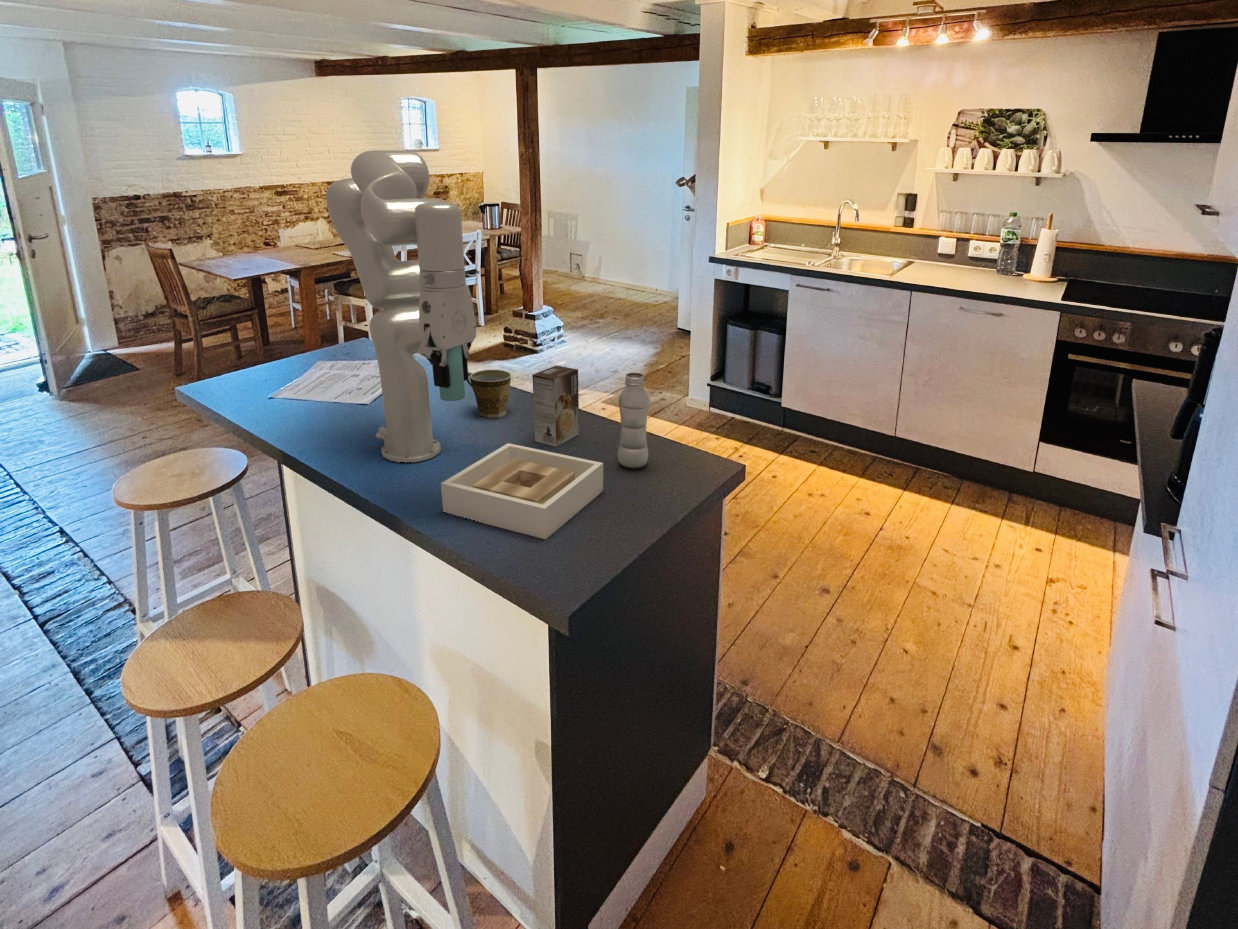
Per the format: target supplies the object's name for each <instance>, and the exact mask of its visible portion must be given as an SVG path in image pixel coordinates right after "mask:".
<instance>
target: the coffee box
mask: <svg viewBox="0 0 1238 929" xmlns="http://www.w3.org/2000/svg"><path fill="white" fill-rule="evenodd" d="M531 375H532V376H531V377H532V395H533V399H532V400H533V418H534V420H533V421H534V441H535V442H537V443H540V444H545V445H548V446H551V447H556V448H557V447H559V446H561V445H562V444H565V443H566V442H568V441H570V440H572V439H573V438H576V437H577V436H579V435H580V419H579V418H580V417H579V414H580V413H579V412H580V411H579V410H580V407H579V402H580V401H579V400H580V399H579V369H578V368H572V367H567V366H562V365H553V366H550V367H549V368H545V369H543V370H541V371H538V372H536V373H533V374H531Z"/></svg>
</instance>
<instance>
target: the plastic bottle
mask: <svg viewBox="0 0 1238 929" xmlns="http://www.w3.org/2000/svg"><path fill="white" fill-rule="evenodd" d="M625 374H626V375H625V382H624V384H625V385H626V386H625V387H624V388H623V390H622V391H621V393H620V394H619V396H618V406H619V415H620V435H619V436H620V439H619V444H618V449H617V458H618V462H619V463H620V464H621V466H622V467H623V468H628V469H640V468H644V467H645V465H646V464H647V462H648V459H649V448H648V445H647V444H648V443H647V442H648V441H647V440H648V439H647V425H648V424H647V422H648V414H649V407H650V403H651V402H650V397H649V394H648V392H647V391H646V390H645V387H643V386H644V385H645V381H644V380H645V378H644V374H643V373H640V372H628V373H625Z"/></svg>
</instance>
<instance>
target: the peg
mask: <svg viewBox="0 0 1238 929" xmlns="http://www.w3.org/2000/svg"><path fill="white" fill-rule="evenodd" d="M437 355H438V356H439V357H440V351H437ZM446 365H448V366H449V375H450V387H449V388H444V387H438V388H439V396H440V397H439V399H440V400H441V401H446V402H456V401H461V400H463V399H465V398H466V390H465V381H464V375H463V362H462V348H461V346H458V347H455V348H452V349H449V350H447V355H446Z"/></svg>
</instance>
